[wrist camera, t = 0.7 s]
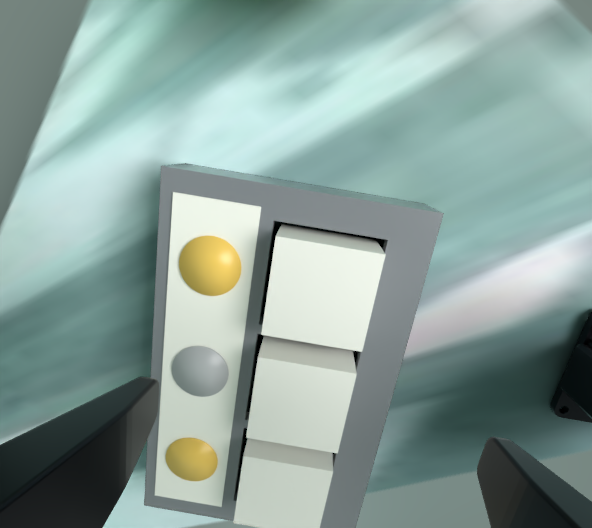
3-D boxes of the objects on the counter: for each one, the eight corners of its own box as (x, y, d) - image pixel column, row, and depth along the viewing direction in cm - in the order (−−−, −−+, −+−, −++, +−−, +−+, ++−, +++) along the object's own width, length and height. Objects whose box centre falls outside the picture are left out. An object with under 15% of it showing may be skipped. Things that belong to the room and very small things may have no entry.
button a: (376, 240, 17) (385, 254, 15) (356, 325, 18) (362, 351, 16) (281, 224, 17) (275, 235, 15) (268, 310, 18) (261, 334, 16)
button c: (331, 433, 20) (333, 471, 18) (317, 495, 22) (317, 537, 19) (252, 420, 20) (243, 455, 18) (242, 482, 22) (233, 523, 19)
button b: (351, 345, 19) (356, 373, 16) (335, 417, 20) (337, 453, 18) (265, 330, 19) (257, 357, 16) (254, 403, 20) (245, 437, 18)
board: (424, 203, 18) (445, 214, 15) (347, 494, 24) (351, 545, 21) (185, 163, 19) (159, 166, 15) (164, 463, 24) (142, 508, 21)
